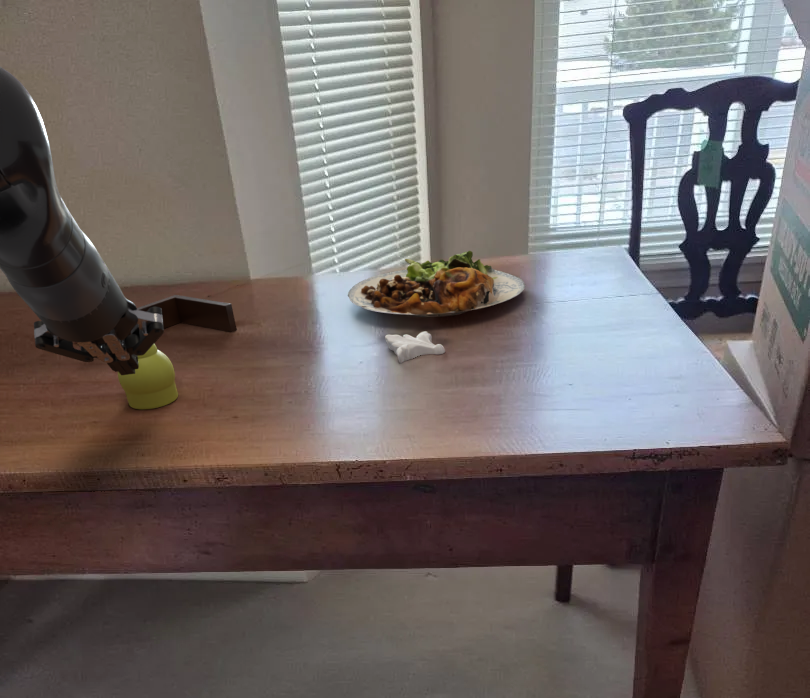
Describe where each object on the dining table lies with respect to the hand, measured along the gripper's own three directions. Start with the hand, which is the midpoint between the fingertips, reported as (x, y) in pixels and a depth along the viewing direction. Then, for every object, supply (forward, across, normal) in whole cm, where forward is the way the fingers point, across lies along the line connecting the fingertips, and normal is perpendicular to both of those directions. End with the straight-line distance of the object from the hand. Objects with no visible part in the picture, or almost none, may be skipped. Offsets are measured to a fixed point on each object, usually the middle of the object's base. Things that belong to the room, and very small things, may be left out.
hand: (127, 366), depth 80 cm
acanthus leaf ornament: (+15, -34, -4) cm, 37 cm away
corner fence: (+28, 0, -18) cm, 34 cm away
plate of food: (+30, -41, -19) cm, 54 cm away
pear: (+11, 0, -1) cm, 11 cm away
